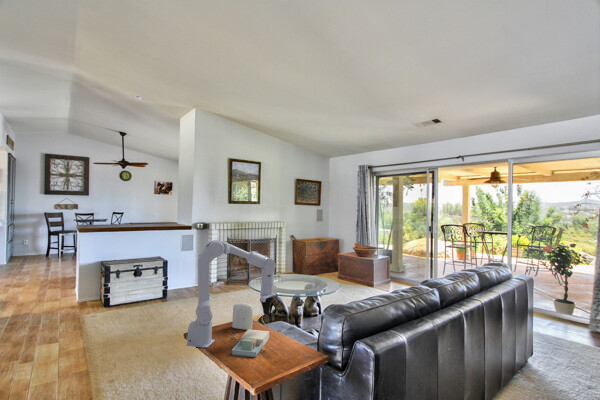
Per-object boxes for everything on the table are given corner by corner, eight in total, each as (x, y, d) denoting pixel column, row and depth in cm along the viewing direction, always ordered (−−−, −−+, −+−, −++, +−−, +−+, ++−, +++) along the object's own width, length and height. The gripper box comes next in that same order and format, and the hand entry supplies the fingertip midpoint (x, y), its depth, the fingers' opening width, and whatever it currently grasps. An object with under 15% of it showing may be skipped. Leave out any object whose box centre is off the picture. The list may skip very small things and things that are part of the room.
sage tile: (243, 348, 130) (241, 350, 128) (244, 338, 131) (242, 340, 128) (253, 349, 130) (251, 351, 127) (253, 339, 130) (251, 341, 127)
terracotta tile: (244, 348, 130) (244, 341, 131) (247, 344, 134) (248, 338, 135) (253, 349, 130) (254, 342, 130) (256, 345, 134) (257, 339, 134)
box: (231, 354, 125) (231, 349, 125) (240, 344, 135) (240, 340, 135) (255, 357, 123) (255, 352, 123) (262, 347, 133) (263, 342, 133)
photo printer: (253, 328, 155) (254, 302, 156) (250, 331, 151) (251, 304, 152) (234, 325, 158) (235, 300, 159) (230, 328, 154) (231, 302, 155)
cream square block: (240, 344, 135) (240, 337, 135) (248, 335, 145) (248, 329, 145) (263, 346, 133) (263, 339, 134) (269, 337, 143) (269, 331, 143)
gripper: (271, 287, 138) (270, 319, 137) (279, 281, 152) (278, 309, 152) (256, 286, 139) (255, 318, 138) (265, 280, 153) (264, 308, 153)
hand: (266, 313), depth 145 cm, fingers closed
